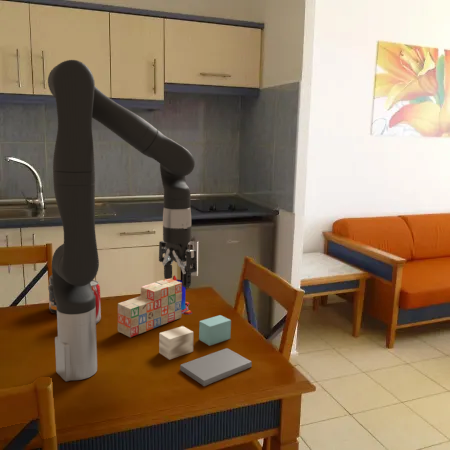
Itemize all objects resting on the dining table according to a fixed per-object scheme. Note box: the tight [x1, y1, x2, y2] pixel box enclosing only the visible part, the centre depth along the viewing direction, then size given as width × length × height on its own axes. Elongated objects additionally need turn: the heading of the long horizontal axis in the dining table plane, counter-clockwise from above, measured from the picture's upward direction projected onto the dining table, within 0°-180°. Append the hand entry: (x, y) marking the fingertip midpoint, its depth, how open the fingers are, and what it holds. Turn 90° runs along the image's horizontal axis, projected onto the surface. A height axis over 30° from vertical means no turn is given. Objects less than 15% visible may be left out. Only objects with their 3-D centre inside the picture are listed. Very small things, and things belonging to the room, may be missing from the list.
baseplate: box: [179, 347, 252, 387], centre depth 125 cm, size 16×10×2 cm, turn 131°
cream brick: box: [158, 325, 194, 360], centre depth 133 cm, size 8×5×6 cm, turn 131°
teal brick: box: [198, 314, 232, 346], centre depth 142 cm, size 8×5×6 cm, turn 131°
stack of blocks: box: [117, 278, 182, 338], centre depth 150 cm, size 21×6×12 cm, turn 140°
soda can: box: [90, 279, 102, 324], centre depth 151 cm, size 7×7×13 cm
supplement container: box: [47, 274, 57, 315], centre depth 160 cm, size 10×10×12 cm
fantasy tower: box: [172, 275, 193, 316], centre depth 164 cm, size 12×12×12 cm
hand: (177, 282), depth 129 cm, fingers open, 8 cm apart
